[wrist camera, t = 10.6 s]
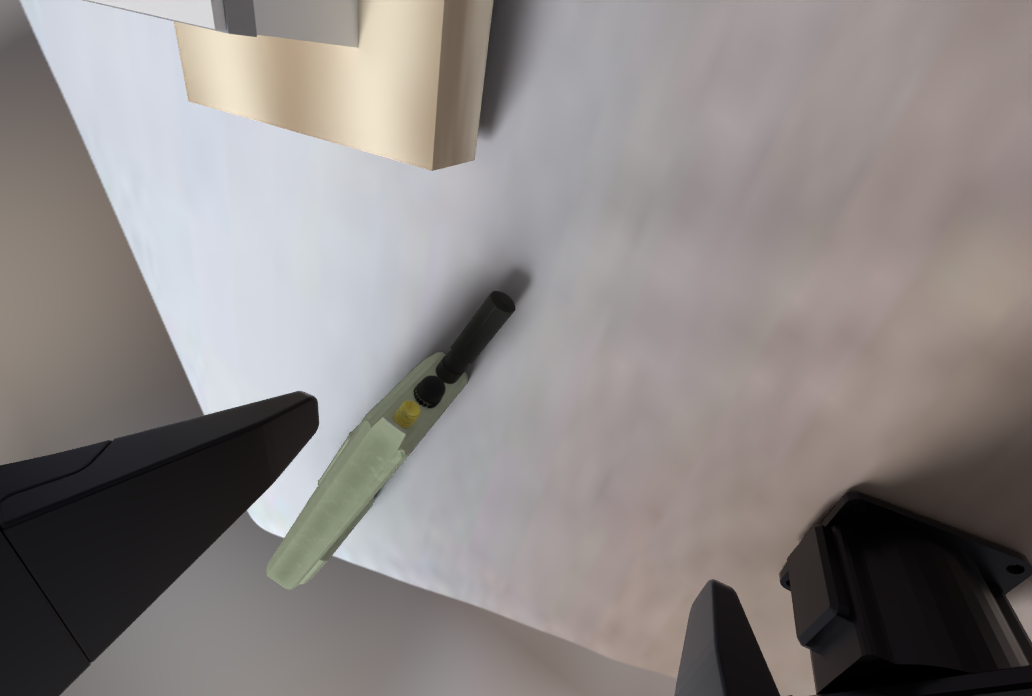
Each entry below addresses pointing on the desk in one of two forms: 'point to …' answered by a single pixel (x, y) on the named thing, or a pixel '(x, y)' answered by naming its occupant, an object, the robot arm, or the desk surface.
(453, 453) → the desk surface
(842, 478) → the desk surface
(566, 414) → the desk surface
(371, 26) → the cream rectangular block
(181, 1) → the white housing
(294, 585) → the handheld radio
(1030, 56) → the desk surface
